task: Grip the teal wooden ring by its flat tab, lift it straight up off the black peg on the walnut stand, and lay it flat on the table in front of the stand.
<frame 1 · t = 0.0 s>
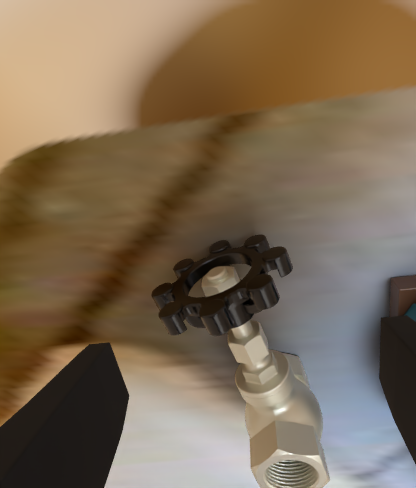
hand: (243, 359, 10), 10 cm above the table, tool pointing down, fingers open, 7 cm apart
valve: (256, 323, 22), on the table
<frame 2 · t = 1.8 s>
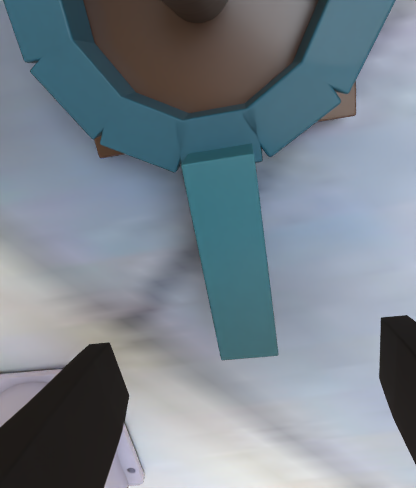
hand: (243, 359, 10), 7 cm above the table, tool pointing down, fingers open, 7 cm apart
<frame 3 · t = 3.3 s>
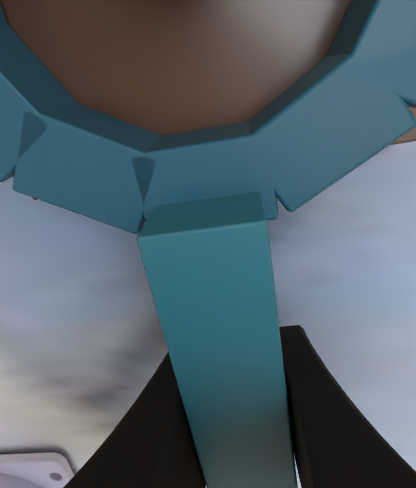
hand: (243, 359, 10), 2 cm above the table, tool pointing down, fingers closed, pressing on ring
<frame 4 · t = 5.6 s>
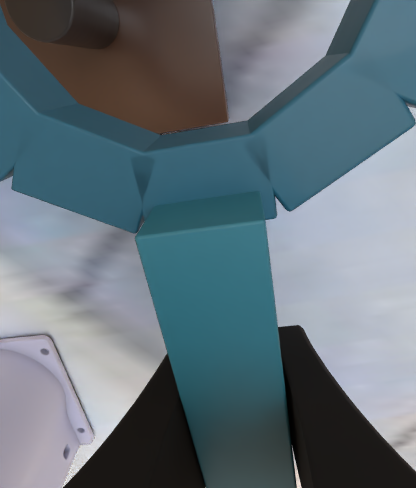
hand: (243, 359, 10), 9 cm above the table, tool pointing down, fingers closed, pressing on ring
ring stand: (104, 23, 15), on the table
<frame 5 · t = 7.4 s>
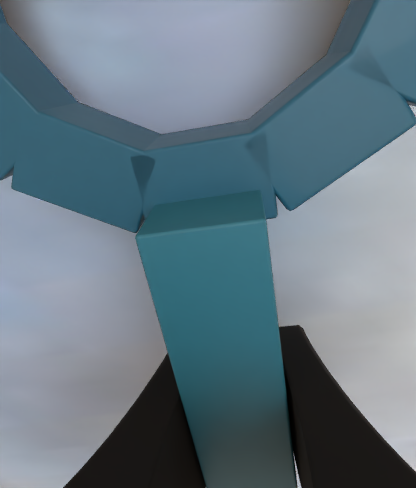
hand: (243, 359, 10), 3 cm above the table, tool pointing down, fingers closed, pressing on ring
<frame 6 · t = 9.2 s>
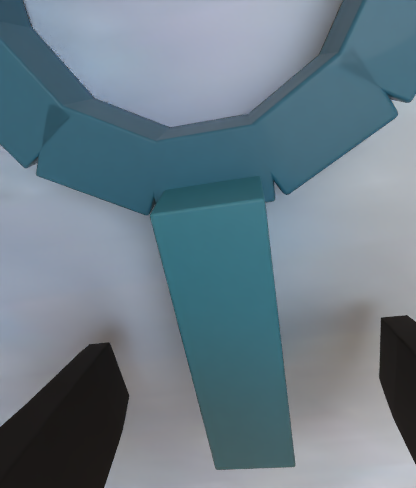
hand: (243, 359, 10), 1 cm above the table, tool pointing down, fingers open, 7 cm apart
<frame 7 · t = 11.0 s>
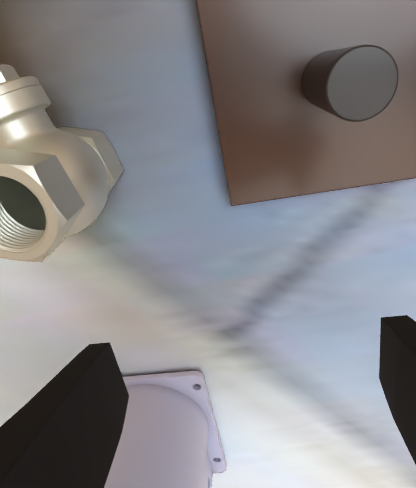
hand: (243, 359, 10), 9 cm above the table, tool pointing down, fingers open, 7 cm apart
valve: (40, 82, 16), on the table
ring stand: (321, 78, 15), on the table
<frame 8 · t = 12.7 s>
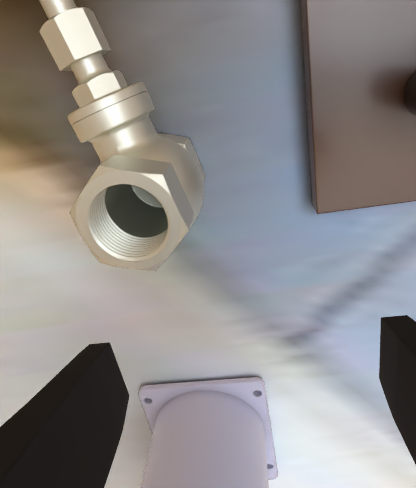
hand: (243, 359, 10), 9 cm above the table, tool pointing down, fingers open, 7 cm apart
valve: (128, 87, 16), on the table
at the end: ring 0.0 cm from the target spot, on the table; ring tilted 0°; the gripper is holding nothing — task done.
